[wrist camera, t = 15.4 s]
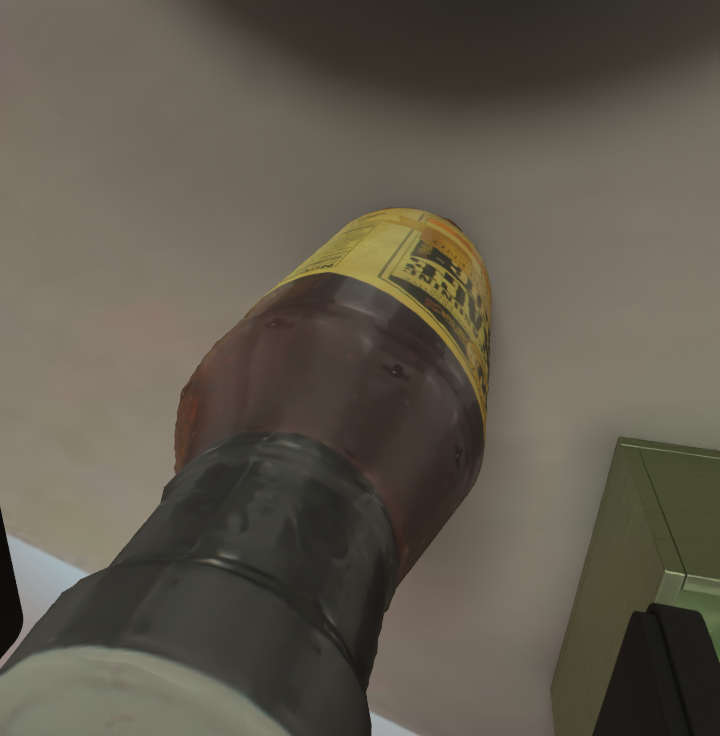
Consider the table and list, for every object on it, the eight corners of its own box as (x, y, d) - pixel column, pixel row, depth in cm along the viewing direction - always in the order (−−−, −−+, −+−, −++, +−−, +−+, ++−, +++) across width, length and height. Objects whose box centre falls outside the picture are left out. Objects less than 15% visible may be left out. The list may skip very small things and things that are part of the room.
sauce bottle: (504, 345, 25) (535, 1053, 7) (347, 370, 26) (48, 996, 9) (473, 170, 22) (399, 570, 5) (302, 210, 24) (-238, 616, 6)
